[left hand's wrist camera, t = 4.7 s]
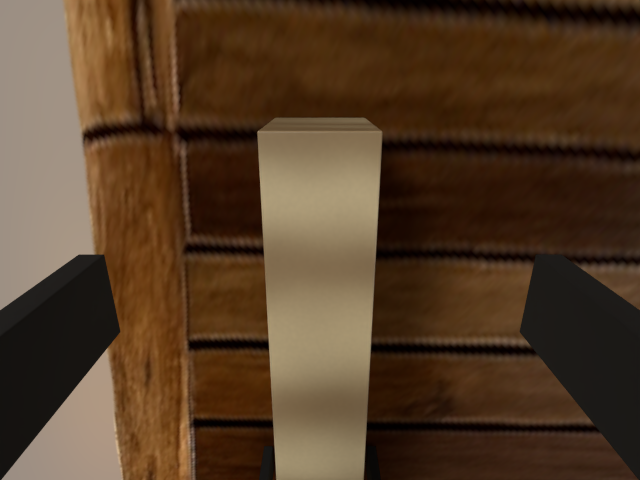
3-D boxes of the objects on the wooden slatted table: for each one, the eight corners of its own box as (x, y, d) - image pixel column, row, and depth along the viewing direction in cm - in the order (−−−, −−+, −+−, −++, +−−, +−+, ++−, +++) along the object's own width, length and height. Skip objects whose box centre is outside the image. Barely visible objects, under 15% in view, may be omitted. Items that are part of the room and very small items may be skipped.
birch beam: (274, 117, 27) (257, 130, 19) (365, 117, 27) (382, 130, 19) (288, 484, 39) (281, 579, 31) (351, 484, 39) (358, 579, 31)
